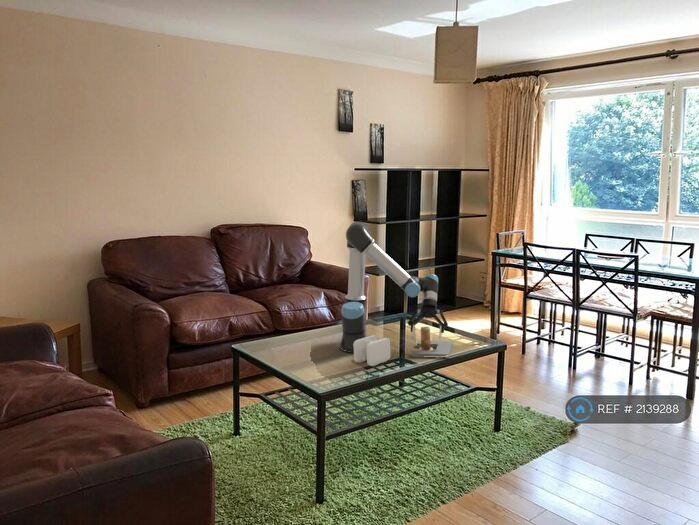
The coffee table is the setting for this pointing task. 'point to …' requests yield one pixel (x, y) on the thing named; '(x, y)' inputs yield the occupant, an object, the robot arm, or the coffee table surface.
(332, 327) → the coffee table surface
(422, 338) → the bobbin
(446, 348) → the notched board
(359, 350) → the cable organizer
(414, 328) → the robot arm
